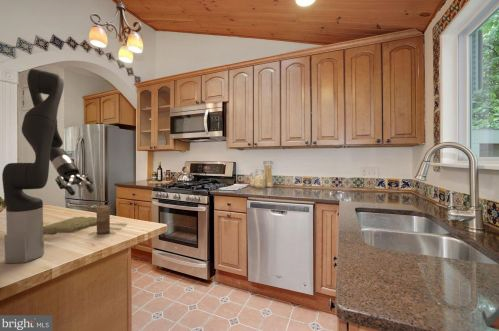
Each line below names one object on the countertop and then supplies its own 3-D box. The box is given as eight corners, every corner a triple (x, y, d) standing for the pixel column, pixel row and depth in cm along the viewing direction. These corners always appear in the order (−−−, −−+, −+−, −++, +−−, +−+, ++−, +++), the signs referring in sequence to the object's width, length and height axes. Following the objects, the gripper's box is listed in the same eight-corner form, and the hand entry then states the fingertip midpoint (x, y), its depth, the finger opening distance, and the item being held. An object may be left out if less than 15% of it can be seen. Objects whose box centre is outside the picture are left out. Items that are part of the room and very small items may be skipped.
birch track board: (112, 237, 102) (112, 235, 102) (85, 238, 100) (85, 236, 100) (129, 224, 120) (129, 222, 120) (106, 225, 119) (106, 223, 119)
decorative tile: (38, 234, 106) (38, 226, 105) (75, 221, 126) (75, 215, 125) (75, 236, 104) (75, 228, 104) (107, 223, 124) (107, 216, 123)
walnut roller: (106, 234, 103) (106, 207, 102) (94, 234, 102) (94, 207, 101) (111, 230, 108) (111, 205, 107) (100, 231, 107) (100, 205, 106)
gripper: (52, 162, 103) (71, 189, 100) (84, 161, 116) (101, 186, 113) (44, 173, 104) (62, 200, 101) (76, 171, 118) (93, 196, 115)
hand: (83, 193), depth 107 cm, fingers open, 8 cm apart
